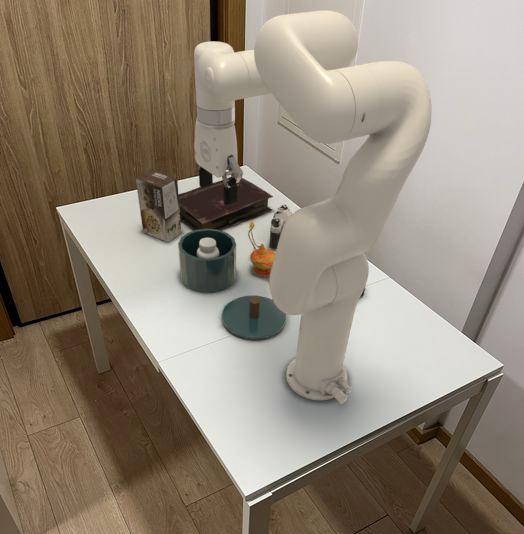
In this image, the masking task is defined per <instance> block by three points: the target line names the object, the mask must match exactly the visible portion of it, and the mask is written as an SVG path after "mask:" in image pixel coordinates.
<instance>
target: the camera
mask: <svg viewBox="0 0 524 534" xmlns="http://www.w3.org/2000/svg"><path fill="white" fill-rule="evenodd" d="M292 214H293V213H292V211H291V209H290V208H289V206H287V204H282V205H280V206H279V207H278V208H277V210H276V211H275V212H274V214H273V218H271V220H270V227H269V229H270V230H269V245H268V247H269V250H271V251H276V250H277V246H278V243H279V239H280V235H281V232H282V229H283V226H284V224H285V222H286V221H287V220H288V218H289V217H290V216H291V215H292Z"/></svg>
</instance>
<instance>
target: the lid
mask: <svg viewBox="0 0 524 534" xmlns="http://www.w3.org/2000/svg"><path fill="white" fill-rule="evenodd" d="M221 320H222V321H221V322H222V323H223V326H224V327H225V328H226V329H227V331H229V332H230V333H231V334H233V335H235V336H238V337H240V338H245V339H251V340H261V339H267V338H270V337H273V336H274V335H277V334H278V333H279V332H281V331H282V330H283V328H284V327H285V325H286V322H287V314H286V313H284V312H282V311H281V310H280V309H278V307H277V306H276V305H275V303H274V301H273V299H272V298H269V297H267V296H262V295H243V296H239V297H237V298H234V299H232V300H230V301H229V302H228V303H227V304H225V306H224V308H223V309H222V312H221Z"/></svg>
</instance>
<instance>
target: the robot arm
mask: <svg viewBox="0 0 524 534" xmlns="http://www.w3.org/2000/svg"><path fill="white" fill-rule="evenodd" d="M253 47H254V49H248V50H242V51H235V50H234V48H233V46H231V45H230V44H229V43H227V42H224V41H223V42H222V41H213V40H212V41H204V42H200V43H199V44H198V45H196V47H195V48H194V50H193V51H194V52H193V64H194V82H195V84H194V85H195V102H196V104H195V105H196V120H195V126H194V143H193V150H194V161H195V162H196V166H197V167H196V168H197V169H198V184H199V187H206V186H209V185H212V184H213V183H214V181H213V180H214V178H213V177H216V178H222V180H223V181H224V184H225V187H223V196H224V204H225V205H228V204H232V203H235V202H237V186H238V185H239V183H240V182H241V178H243V175H244V172H243V169H242V168H241V167H240V165H239V163H238V158H239V157H238V142H237V141H238V139H237V132H236V126H235V123H236V103H235V102H236V101H238V100H243V99H248V98H253V97H258V96H265V95H270V94H271V95H272V96H273V97H274V98H275V100H276V101H277V102H278V104H280V106H281V107H282V108H283V109H284V111H285V112H286V113H287V114H288V116H289V117H290V118H291V119H292V121H293V122H294V123H295V124H296V127H298V128H299V129H300V130H301V132H302V133H303V134H305V135H306V137H308V138H309V139H310V140H312V141H314V142H315V143H318V144H322V145H323V144H325V145H332V144H337V143H342V142H345V141H349V140H354V139H357V138H361V137H365V136H368V137H367V139H366V140H365V141H364V142H363V144H362V145H361V146H360V147H359V148H358V149H357V150H356V152H355V153H354V154H353V156H352V157H351V158H350V160H349V161H348V163H347V164H346V167H345V169H344V172H343V175H342V178H341V180H340V183H339V185H338V187H337V189H336V191H335V192H334V194H333V195H332V196H330V197H329V198H327V199H325V200H322V201H319V202H315V203H313V204H309V205H307V206H304V207H301V208H299V209H297V210H296V211H294V212H293V213H292V215H291V216H290V217H289V218H288V220H287V221H286V222H285V224H284V226H283V229H282V232H281V235H280V239H279V243H278V246H277V250H275V252H274V253H275V257H274V261H273V265H272V268H271V273H270V275H269V292H270V296H271V299H272V300H273V301H274V303H275V305H276V306H277V307H278V309H280V310H281V311H282V312H284V313H286V315H289V316H300V319H299V321H300V322H299V329H298V335H297V336H298V338H297V345H296V353H295V357H294V358H293V359H292V360H291V361H290V362H289V364H288V365H287V367H286V373H285V379H286V382H287V384H288V386H289V387H290V389H291V391H293V392H295V393H296V394H297V395H298V396H300V397H302V398H305V399H308V400H312V401H328V400H332V399H335V400H337V402H338V403H340V404H341V405H343V404H344V403H345V402H346V401H347V400H348V399H349V396H348V395H347V394H349V393H351V392H352V390H353V387H352V386H350V385H349V383H348V380H349V379H348V378H349V377H348V372H347V370H346V368H345V367H344V363H345V357H346V353H347V347H348V343H349V339H350V333H351V329H352V324H353V320H354V316H355V313H356V308H357V306H358V303H359V302H360V301H359V300H360V299H361V297H360V296H361V294H362V292H363V290H364V288H365V289H366V285H367V282H368V278H369V270H370V269H369V267H370V266H369V261H368V258H367V255H366V253H367V252H368V251H370V250H371V249H373V247H374V246H375V245H376V243H377V242H378V240H379V238H380V236H381V235H382V232H383V230H384V228H385V225H386V223H387V221H388V219H389V217H390V216H391V213H392V211H393V210H394V209H393V208H394V207H395V205H396V203H397V201H398V198H399V195H400V194H401V192H402V190H403V188H404V185H405V183H406V182H407V180H408V178H409V176H410V174H411V173H412V171H413V169H414V167H415V166H416V164H417V163H418V160H419V159H420V156H421V154H422V152H423V150H424V148H425V146H426V143H427V141H428V137H429V134H430V130H431V125H432V114H433V113H432V112H433V111H432V99H431V94H430V90H429V86H428V84H427V81H426V79H425V77H424V76H423V75H422V73H421V72H420V71H419V70H418V69H417V68H416V67H415V66H414V65H411V64H409V63H407V62H403V61H399V60H382V61H374V62H368V63H362V64H358V65H357V64H356V65H352V63H353V62H354V60H355V58H356V56H357V52H358V50H359V49H358V48H359V36H358V31H357V28H356V27H355V25H354V24H353V22H352V21H351V19H350V18H349V17H347V16H346V15H345V14H343V13H341V12H339V11H335V10H329V9H324V10H312V11H304V12H296V13H288V14H280V15H277V16H274V17H272V18H270V19H268V20H267V21H265V22H264V24H263V25H262V26H261V28H260V29H259V30H258V33H257V35H256V38H255V41H254V46H253ZM229 176H230V177H232V178H231V180H230V181H229V180H228V178H229ZM364 291H365V290H364Z"/></svg>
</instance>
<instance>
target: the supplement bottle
mask: <svg viewBox="0 0 524 534" xmlns="http://www.w3.org/2000/svg"><path fill="white" fill-rule="evenodd" d="M217 257H219V250H218V248H217V247H216V241H215V240H214V239H212V238H203V239H201V240H200V241H199V248H198V250H197V258H205V259H208V258H217Z"/></svg>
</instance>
